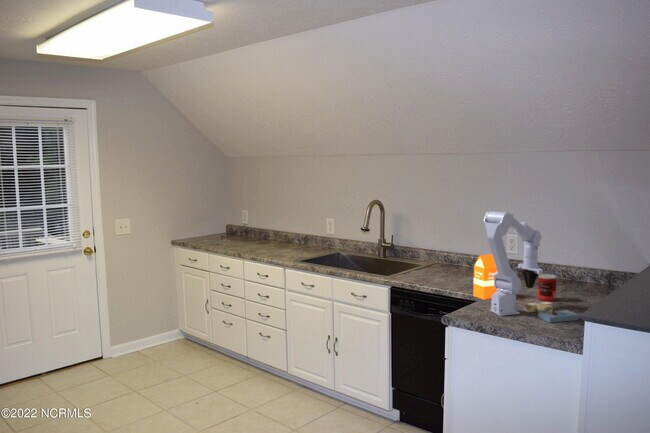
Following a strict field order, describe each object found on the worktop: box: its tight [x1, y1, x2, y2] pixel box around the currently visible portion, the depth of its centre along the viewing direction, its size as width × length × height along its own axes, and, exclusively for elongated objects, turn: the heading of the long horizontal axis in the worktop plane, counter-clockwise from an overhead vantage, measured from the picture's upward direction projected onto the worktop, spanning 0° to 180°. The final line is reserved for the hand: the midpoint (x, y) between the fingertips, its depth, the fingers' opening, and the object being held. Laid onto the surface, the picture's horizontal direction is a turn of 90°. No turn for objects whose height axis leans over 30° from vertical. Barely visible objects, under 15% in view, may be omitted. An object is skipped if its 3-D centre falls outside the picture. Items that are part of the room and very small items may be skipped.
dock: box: [537, 309, 580, 323], centre depth 215 cm, size 13×7×2 cm, turn 104°
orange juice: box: [473, 253, 498, 300], centre depth 250 cm, size 8×9×20 cm
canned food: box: [537, 273, 557, 302], centre depth 245 cm, size 8×8×11 cm
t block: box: [523, 301, 554, 314], centre depth 225 cm, size 12×8×3 cm, turn 104°
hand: (529, 287), depth 233 cm, fingers closed
